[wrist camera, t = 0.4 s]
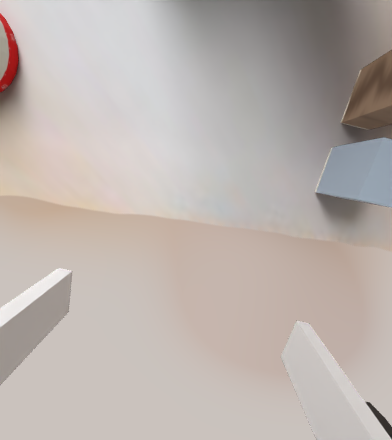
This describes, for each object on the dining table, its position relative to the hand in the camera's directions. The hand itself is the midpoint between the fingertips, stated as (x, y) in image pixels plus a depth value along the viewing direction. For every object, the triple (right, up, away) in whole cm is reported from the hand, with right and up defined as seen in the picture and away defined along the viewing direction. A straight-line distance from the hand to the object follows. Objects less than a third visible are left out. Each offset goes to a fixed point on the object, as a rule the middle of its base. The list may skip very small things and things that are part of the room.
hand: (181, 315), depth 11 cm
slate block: (+26, +14, +24) cm, 38 cm away
